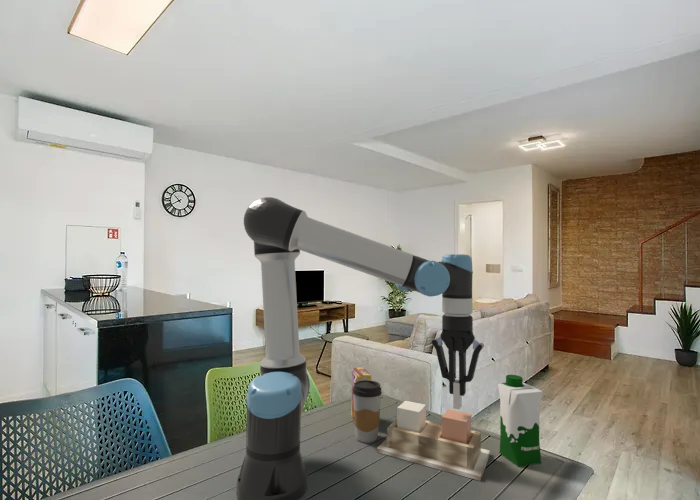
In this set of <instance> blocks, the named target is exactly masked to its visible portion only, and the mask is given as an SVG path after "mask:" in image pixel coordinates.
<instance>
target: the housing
mask: <svg viewBox="0 0 700 500" xmlns="http://www.w3.org/2000/svg"><path fill="white" fill-rule="evenodd" d="M481 437H482V432H481V431H476V430H472V429H471V440H470V442H469V444H464V443H460V442H455V441H451V440H447V439H443V438H442V422H441V423H440V422H437V421H433V420H432V421H431V420H427V419H426V427H425V428H424V429H423V430H422V432H421V433H417V432H413V431H409V430H405V429H401V428H397V418H396V419H395V420H393V422H392V423H391V424H389V426H387V428H386V439H385V440H383V442H381V444H380V445H379V446H377V447H376V453H378V454H382V455H385V456H389V457H393V458H397V459H400V460H404V461H408V462H412V463H415V464H418V465H421V466H426V467H428V468H433V469H435V470H436V469H437V470H439V471H443V472H446V473H450V474H453V475H457V476H461V477H464V478H469V479H472V480H476V481H479V482H481V481H482V478H483V475H484V472H485V470H486V466H487V464H488V461H489V459H490V455H491V450H489V449H485V448H482V445H481V444H482V439H481Z"/></svg>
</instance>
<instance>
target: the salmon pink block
mask: <svg viewBox="0 0 700 500" xmlns="http://www.w3.org/2000/svg"><path fill="white" fill-rule="evenodd" d="M441 424H442V438H443V439H447V440H451V441H455V442H460V443H464V444H469V442H470V440H471V430H472V413H469V412H466V411H465V412H464V411H459V410H456V409H449V408H448V409H447V410H446V411H445V412H444V414H443V415H442V416H441Z"/></svg>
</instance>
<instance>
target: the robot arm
mask: <svg viewBox="0 0 700 500" xmlns="http://www.w3.org/2000/svg"><path fill="white" fill-rule="evenodd" d="M243 226H244V230H245V232H246V234H247V236H248V237H249V238H250V240H252V241H253V249H254V251H253V252H254V257H255V258H256V259H257V260H258V261H259V262H260V264H261V265H260V267H261V268H260V269H261V289H262V304H263V305H262V308H263V325H264V342H265V344H264V346H265V348H264V349H265V357H263V359H262V360H261V361H260V362H259V366H260V367H259V369H260V375H258V376H256V377H255V378H253V379H252V381H250V383H249V385H248V388H247V394H246V399H245V400H246V401H245V402H246V425H245V426H246V430H245V431H246V435H245V456H244V458H243V461H242V465H241V468H240V470H239V474H238V476H237V479H236V492H235V493H236V498H237V499H238V500H300V499H301V498H302V497H304V496H305V494H306V492H307V489H308V472H307V468H305V464H304V460H303V456H302V452H301V426H302V425H301V422H302V421H301V419H302V412H303V410H304V406H305V402H306V400H307V398H308V396H309V393H310V388H311V384H310V383H311V381H310V379H309V374H308V371H307V359H306V357H305V355H303V354H302V353H301V352H300V337H299V336H300V335H299V317H298V302H297V301H298V300H297V298H298V297H297V281H296V267H295V266H296V264H295V263H296V262H295V261H296V259H297V258H298V257H299V255H300V254H301V251H302V252H305V253H307V254H311V255H313V256H316V257H319V258H321V259H325V260H327V261H330V262H333V263H336V264H337V265H342V266H344V267H347V268H349V269H353V270H355V271H358V272H362V273H364V274H367V275H369V276H373V277H375V278H378V279H381V280H384V281H386V282H389V283H392V284H395V286H396V288H397V290H399V291H403V292H404V291H405V292H416V293H419V294H421V295H424V296H427V297H430V298H431V297H436V296H438V297H439V296H440V295H441V298H442V301H441V305H442V306H441V308H442V309H441V312H442V313H443V315H442V316H441V317H442V318H441V325H442V326H441V329H442V330H441V333H440V336H439V337H437V338H434V339H432V341H431V343H432V346H433V347H434V349H435V353H436V356H437V361H438V364H439V369H440V374H441V377H442V378H443V379H446V380H447V381H448V383H449V384H448V386H449V394H451V395H453V396H452V398H453V399H452V400H453V401H452V402H453V404H452V405H453V406H452V407H453V408H452V410H457V411H459V410H461V408H462V407H463V406H462V405H463V404H462V403H463V401H462V400H463V399H462V397H464V396H465V395H466V393H467V390H466V384H467V383H471V382H472V381H473V379H474V376H475V373H476V368H477V364H478V360H479V357H480V353H481V352H482V350H483V348H484V346H485V345H484V343H482V342H479V341H477V340H476V337H475V334H474V332H473V330H474V327H473V325H474V324H473V323H474V322H473V321H474V319H473V318H474V317H473V316H472V314H473V310H474V309H473V274H474V270H473V261H472V257H471V256H470V255H469V254H465V253H464V254H463V253H462V254H460V253H459V254H454V253H452V254H451V253H450V254H443V255H442V257H441V261H435V260H429V259H425V258H423V257H420V256H417V255H413V254H412V253H410V252H406V251H403V250H401V249H397V248H395V247H393V246H390V245H387V244H385V243H382V242H379V241H376V240H373V239H370V238H368V237H364V236H361V235H358V234H356V233H353V232H351V231H348V230H345V229H341V228H339V227H336V226H333V225H332V224H328V223H325V222H322V221H319V220H317V219H314V218H312V217H309V216H308V215H307V212H306V211H305V210H302V209H299V208H297V207H295V206H292V205H290V204H288V203H286V202H284V201H283V200H281V199H278V198H275V197H270V196H269V197H266V196H265V197H261V198H259V199H256V200H254V201H253V202H252V203H251V204H249V205H248V207H247V208H246V210H245V212H244V216H243ZM443 344H444V345H445V346H446V348H447V350H448V351H447V353H448V365H447V359H446V357H445V351H444V347H443ZM471 345H472V349H473V352H472V356H471V358H470V363H469V367H468V371H467V351H468V349H469V348H470V347H471ZM457 352H458V379H457V371H456V369H457V357H456V356H457V355H456V354H457Z"/></svg>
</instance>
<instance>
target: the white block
mask: <svg viewBox="0 0 700 500" xmlns="http://www.w3.org/2000/svg"><path fill="white" fill-rule="evenodd" d="M396 419H397V428H401V429H405V430H409V431H413V432H417V433H421V432H422V430H423V429H424V428H425V427H426V420H427V405H426V404H424V403H419V402H413V401H409V400H404V401H403V402H402V403H400V405H399V406H397V408H396Z"/></svg>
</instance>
